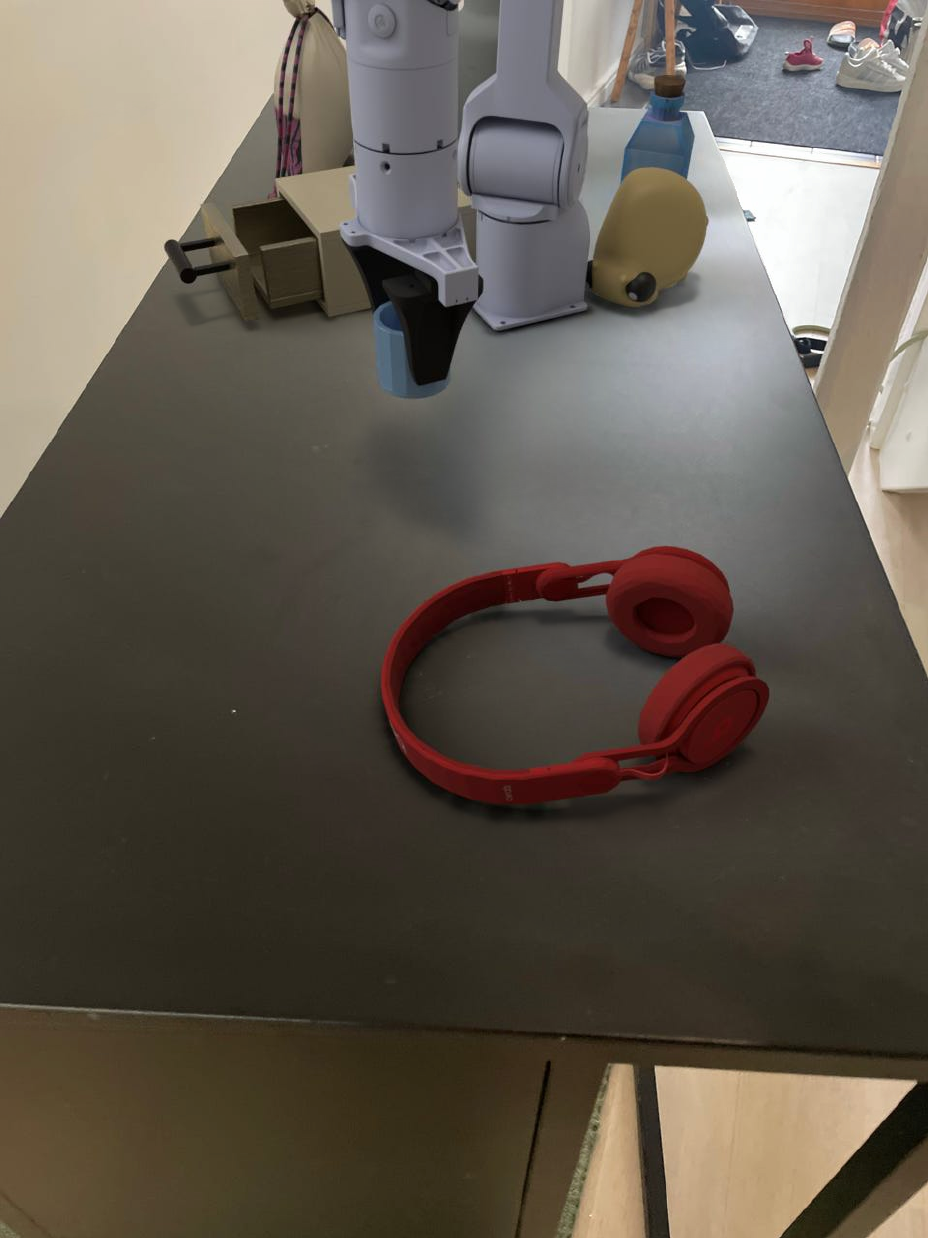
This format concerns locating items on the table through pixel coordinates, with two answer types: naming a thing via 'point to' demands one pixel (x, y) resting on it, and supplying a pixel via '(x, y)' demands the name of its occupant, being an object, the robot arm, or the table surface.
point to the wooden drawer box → (323, 210)
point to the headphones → (648, 617)
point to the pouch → (311, 96)
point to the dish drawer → (256, 254)
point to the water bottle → (476, 47)
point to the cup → (397, 358)
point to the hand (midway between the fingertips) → (413, 359)
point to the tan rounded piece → (647, 237)
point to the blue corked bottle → (662, 131)
